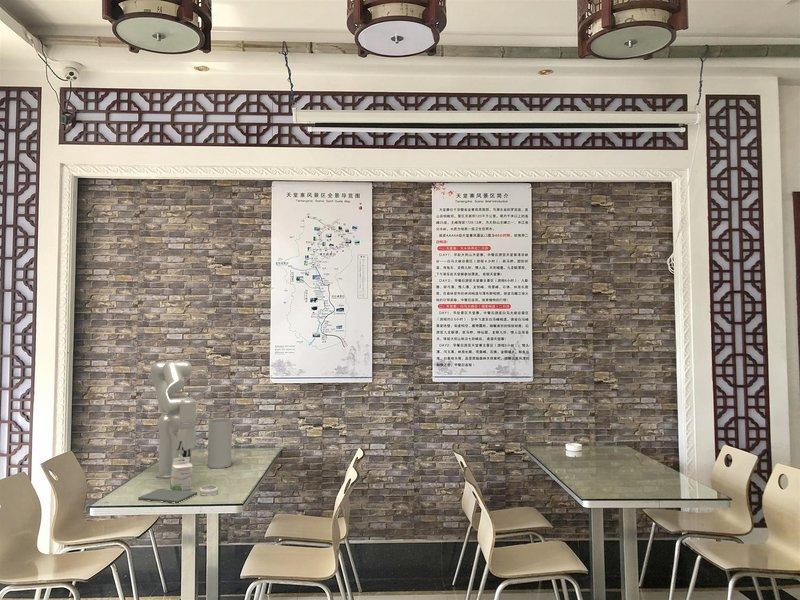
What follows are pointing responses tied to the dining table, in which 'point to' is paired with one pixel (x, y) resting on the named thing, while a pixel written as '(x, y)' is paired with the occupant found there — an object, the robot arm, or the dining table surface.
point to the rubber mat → (167, 495)
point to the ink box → (181, 474)
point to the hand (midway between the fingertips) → (186, 464)
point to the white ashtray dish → (208, 490)
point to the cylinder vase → (219, 443)
